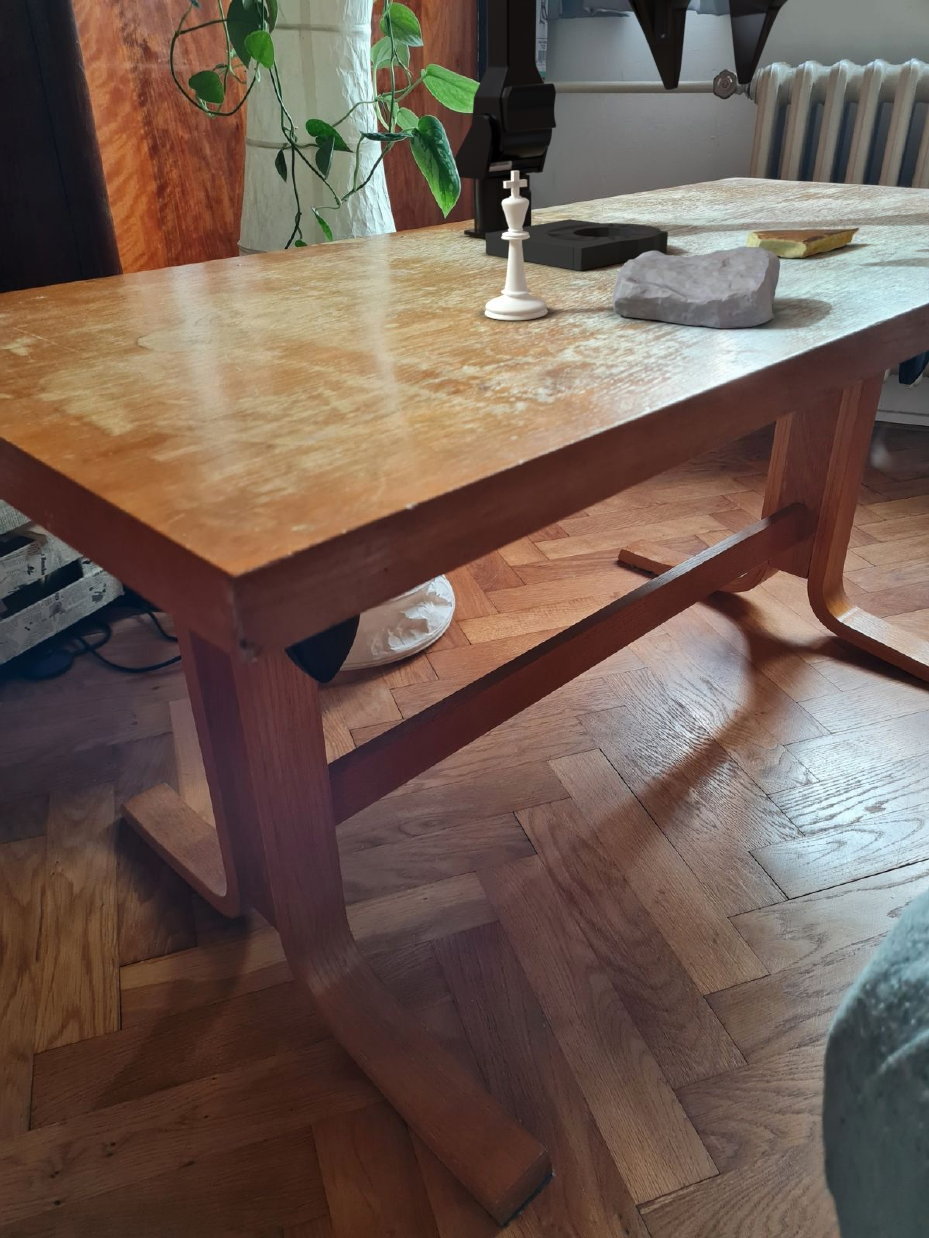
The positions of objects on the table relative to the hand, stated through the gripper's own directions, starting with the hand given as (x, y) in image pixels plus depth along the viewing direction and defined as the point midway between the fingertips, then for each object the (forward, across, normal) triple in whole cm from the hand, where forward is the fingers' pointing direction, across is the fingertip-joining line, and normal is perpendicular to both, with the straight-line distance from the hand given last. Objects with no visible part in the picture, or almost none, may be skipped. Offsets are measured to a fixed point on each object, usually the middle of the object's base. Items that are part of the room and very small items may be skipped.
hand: (709, 87), depth 75 cm
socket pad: (+14, -2, +14) cm, 20 cm away
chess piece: (+15, -23, -2) cm, 27 cm away
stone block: (+15, -14, -11) cm, 23 cm away
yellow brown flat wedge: (+15, +13, 0) cm, 20 cm away
